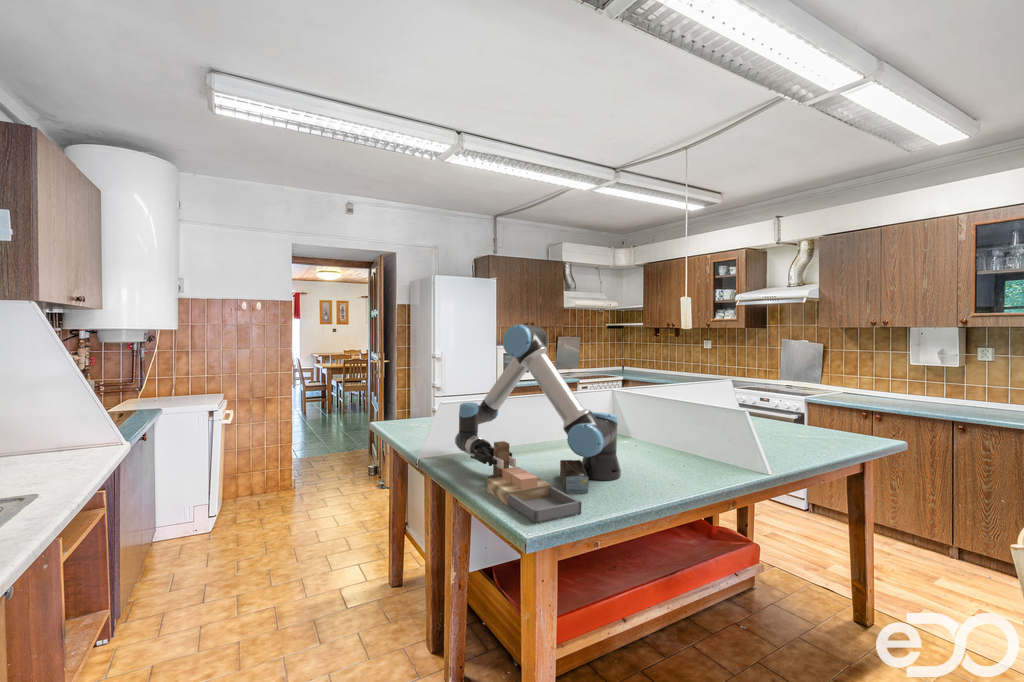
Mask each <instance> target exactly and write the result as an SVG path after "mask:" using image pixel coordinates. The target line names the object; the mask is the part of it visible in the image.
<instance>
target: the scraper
mask: <svg viewBox="0 0 1024 682" xmlns="http://www.w3.org/2000/svg"><path fill="white" fill-rule="evenodd" d="M493 448H494V456H495V457H497V458H499V459H501V460H503V461H504V469H506V468H510V465H509V452H510V442H507V441H505V440H502V441H493ZM499 477H502V469H501V468H499V467H497V466H495V465H493V464H492V474H490V475H487V479H492V478H499Z"/></svg>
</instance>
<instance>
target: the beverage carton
mask: <svg viewBox="0 0 1024 682" xmlns="http://www.w3.org/2000/svg"><path fill="white" fill-rule="evenodd" d="M559 467H560V468H559V472H560V479H561V483H562V485H563V487H564V491H565V494H589V478H588V476H587V473H586V471H585V469H584V466H583V464H582V460H581V459H567V460H566V459H561V460H560V461H559Z"/></svg>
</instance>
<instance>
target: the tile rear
mask: <svg viewBox="0 0 1024 682" xmlns="http://www.w3.org/2000/svg"><path fill="white" fill-rule="evenodd" d="M524 472H528V471H527V470H525V469H523V468H521V467H520V466H516V467H509V468H506V469H502V478H503V479H505V480H507V481H508V482H510V483H512V474H517V473H524Z"/></svg>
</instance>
